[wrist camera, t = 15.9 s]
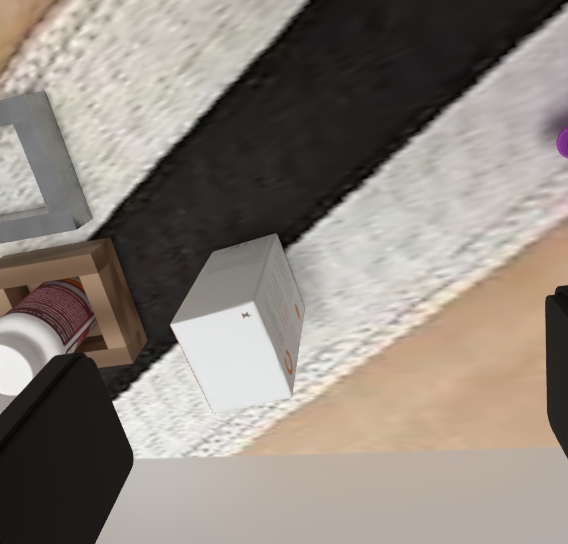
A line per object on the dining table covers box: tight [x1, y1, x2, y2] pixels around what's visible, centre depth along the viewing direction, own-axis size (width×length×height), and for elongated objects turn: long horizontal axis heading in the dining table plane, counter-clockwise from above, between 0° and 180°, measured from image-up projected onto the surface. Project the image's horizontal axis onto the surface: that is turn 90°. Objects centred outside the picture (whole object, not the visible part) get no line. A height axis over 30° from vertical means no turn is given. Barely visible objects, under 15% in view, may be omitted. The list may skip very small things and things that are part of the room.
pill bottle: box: [0, 277, 98, 395], centre depth 44 cm, size 6×6×11 cm
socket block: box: [0, 91, 92, 244], centre depth 44 cm, size 11×11×3 cm
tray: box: [0, 237, 148, 368], centre depth 48 cm, size 11×11×4 cm
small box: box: [170, 233, 305, 414], centre depth 41 cm, size 8×6×13 cm
